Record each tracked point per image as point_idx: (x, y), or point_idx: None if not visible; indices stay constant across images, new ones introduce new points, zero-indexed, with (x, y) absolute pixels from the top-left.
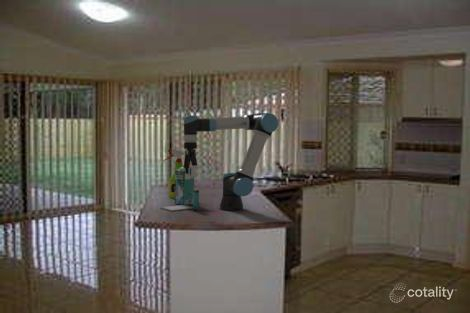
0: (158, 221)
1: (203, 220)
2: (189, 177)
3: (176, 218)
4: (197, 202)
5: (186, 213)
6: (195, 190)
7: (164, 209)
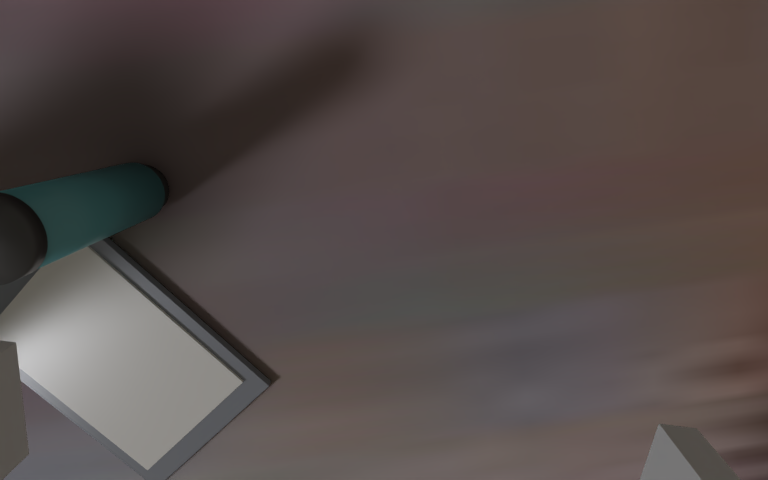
0: (705, 411)
1: (647, 41)
2: (730, 469)
3: (568, 299)
4: (117, 182)
5: (320, 249)
6: (6, 247)
7: (202, 444)
